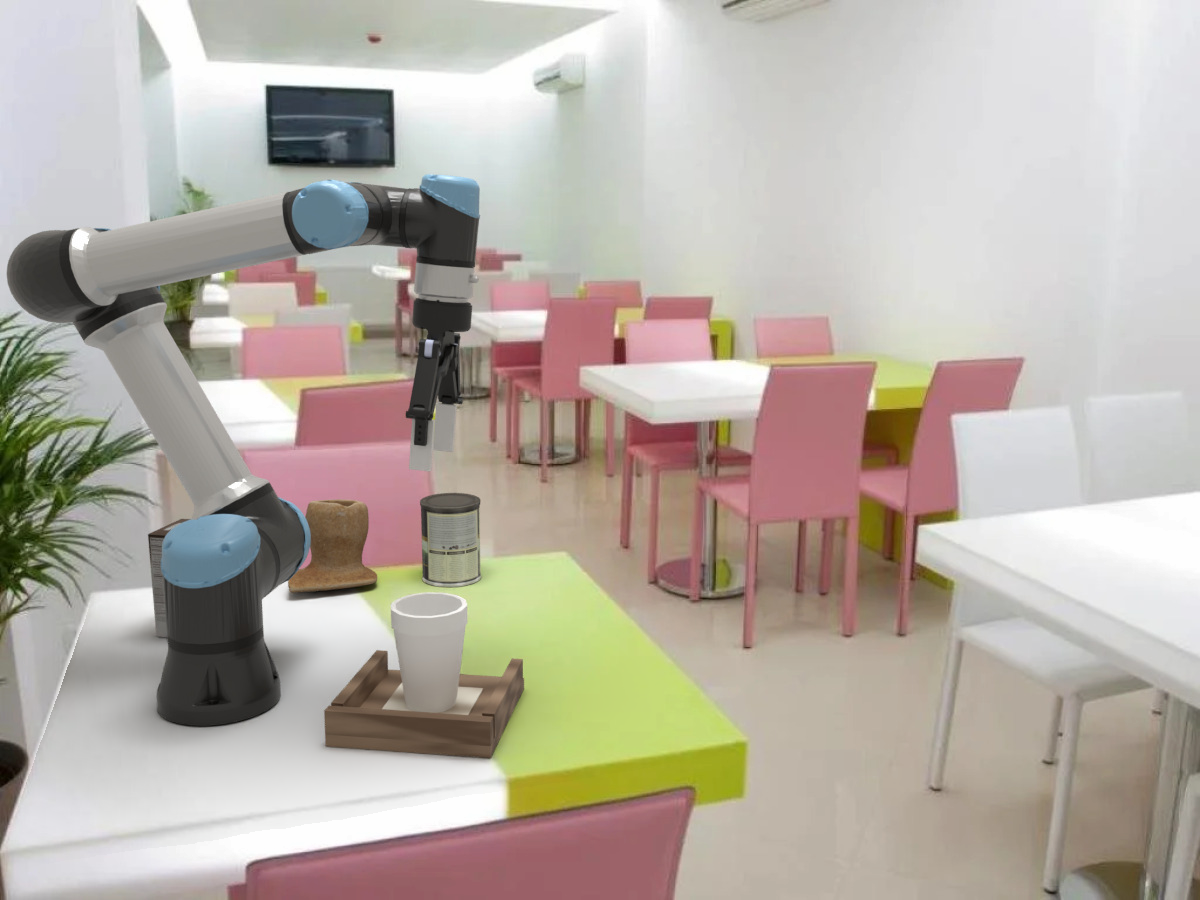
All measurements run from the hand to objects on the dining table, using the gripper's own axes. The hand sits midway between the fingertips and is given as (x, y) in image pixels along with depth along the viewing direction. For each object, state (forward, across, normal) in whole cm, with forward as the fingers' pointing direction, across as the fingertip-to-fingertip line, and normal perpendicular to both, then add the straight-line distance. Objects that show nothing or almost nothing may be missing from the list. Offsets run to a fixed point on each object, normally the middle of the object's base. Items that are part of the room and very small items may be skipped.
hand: (432, 460), depth 149 cm
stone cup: (+32, +36, +24) cm, 54 cm away
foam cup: (+29, -12, -5) cm, 31 cm away
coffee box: (+33, +14, +38) cm, 53 cm away
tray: (+30, -12, -5) cm, 33 cm away
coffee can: (+30, +42, +4) cm, 52 cm away
